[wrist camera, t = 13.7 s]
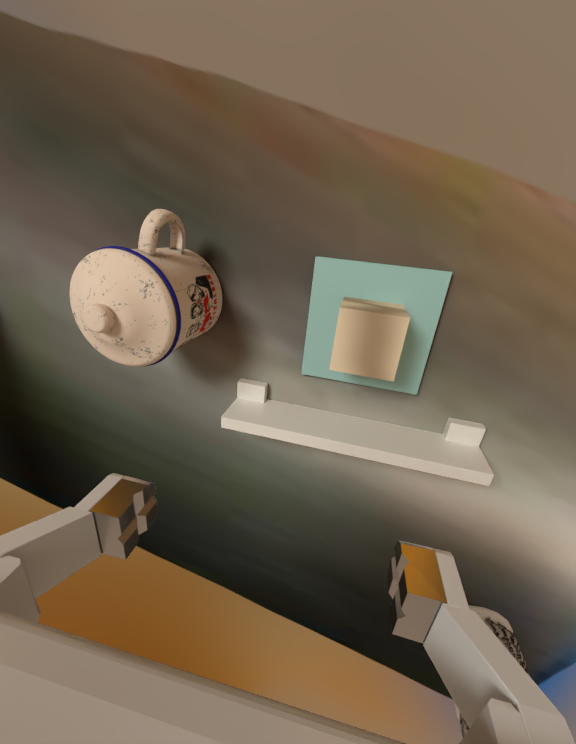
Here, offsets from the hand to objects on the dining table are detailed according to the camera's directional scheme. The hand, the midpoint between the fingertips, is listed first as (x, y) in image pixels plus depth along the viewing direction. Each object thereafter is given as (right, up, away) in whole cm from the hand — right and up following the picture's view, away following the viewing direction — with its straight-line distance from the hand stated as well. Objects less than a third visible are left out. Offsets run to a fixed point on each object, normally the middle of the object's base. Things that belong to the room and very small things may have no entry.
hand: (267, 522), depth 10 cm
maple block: (+8, +9, +18) cm, 21 cm away
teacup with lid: (-9, +14, +21) cm, 27 cm away
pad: (+8, +9, +18) cm, 22 cm away
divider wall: (+7, 0, +22) cm, 23 cm away
